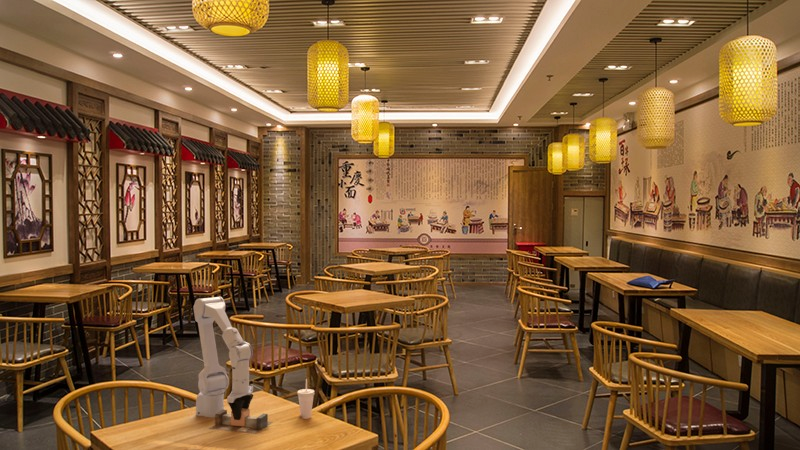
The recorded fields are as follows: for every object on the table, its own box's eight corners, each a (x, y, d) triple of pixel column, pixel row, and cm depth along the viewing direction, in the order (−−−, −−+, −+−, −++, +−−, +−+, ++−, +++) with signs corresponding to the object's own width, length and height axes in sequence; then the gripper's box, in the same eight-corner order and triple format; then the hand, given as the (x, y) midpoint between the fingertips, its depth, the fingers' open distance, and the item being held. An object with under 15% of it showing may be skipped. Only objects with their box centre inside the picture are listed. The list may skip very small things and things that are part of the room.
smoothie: (316, 414, 227) (316, 377, 227) (312, 420, 221) (312, 382, 220) (299, 414, 228) (299, 377, 228) (295, 419, 221) (295, 381, 221)
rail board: (209, 431, 209) (209, 416, 208) (227, 420, 220) (227, 406, 220) (256, 436, 204) (256, 421, 204) (272, 424, 216) (272, 410, 215)
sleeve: (231, 425, 211) (231, 411, 211) (236, 421, 215) (237, 407, 215) (243, 426, 210) (244, 412, 209) (249, 422, 213) (249, 409, 213)
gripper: (240, 385, 204) (240, 425, 204) (260, 374, 218) (260, 412, 218) (221, 383, 206) (221, 423, 206) (243, 373, 220) (243, 410, 220)
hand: (240, 417), depth 212 cm, fingers closed on sleeve, 4 cm apart
